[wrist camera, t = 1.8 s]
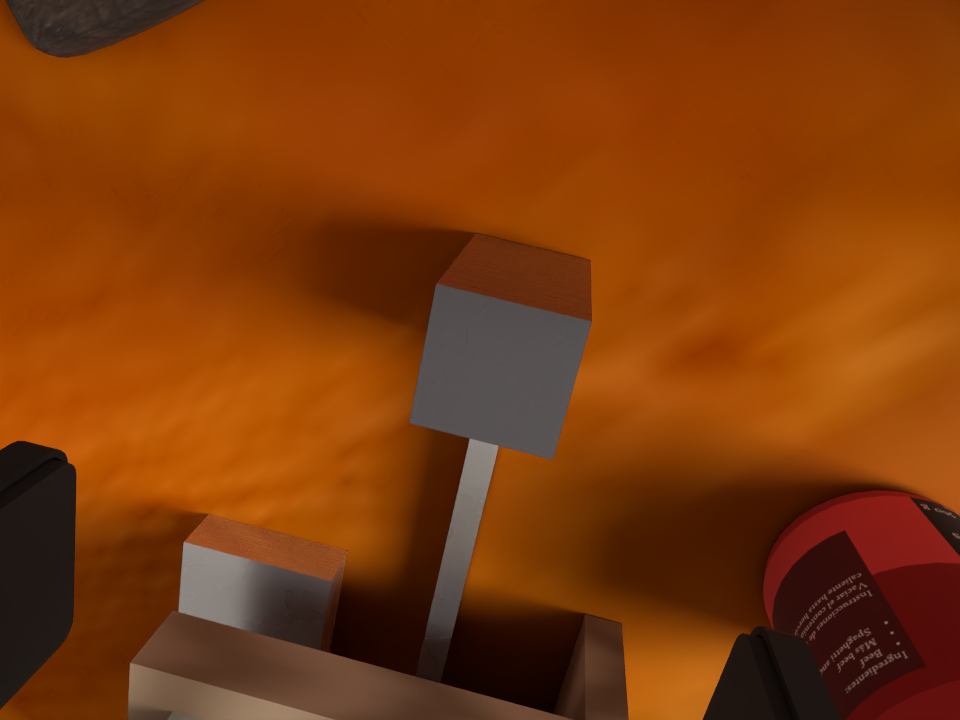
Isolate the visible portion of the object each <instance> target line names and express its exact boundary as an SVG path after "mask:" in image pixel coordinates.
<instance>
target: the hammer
mask: <svg viewBox="0 0 960 720" xmlns="http://www.w3.org/2000/svg"><path fill="white" fill-rule="evenodd" d="M591 322H592V309H591V260H587V259H583V258H579V257H574V256H570V255H566V254H562V253H558V252H553V251H549V250H545V249H541V248H537V247H532V246H528V245H524V244H520V243H516V242H511V241H507V240H503V239H499V238H495V237H490V236H486V235H482V234H478V233H475V235H474V236H473V237H472V238H471V240H470V241H469V242H468V244H467V245H466V246H465V247H464V249H463V250H462V251H461V253H460V254H459V255H458V256H457V258H456V259H455V260H454V261H453V263H452V264H451V265H450V267H449V268H448V269H447V270H446V272H445V273H444V274H443V276H442V277H441V278H440V279H439V281H438V282H437V283H436V287H435V292H434V297H433V303H432V308H431V313H430V318H429V323H428V328H427V334H426V339H425V344H424V349H423V354H422V360H421V365H420V370H419V375H418V380H417V386H416V391H415V396H414V401H413V406H412V412H411V417H410V422H409V423H410V424H414V425H418V426H422V427H426V428H430V429H434V430H438V431H442V432H446V433H450V434H454V435H458V436H462V437H466V438H470V440H469V445H468V449H467V454H466V458H465V462H464V467H463V471H462V475H461V480H460V484H459V488H458V493H457V497H456V501H455V506H454V510H453V515H452V519H451V523H450V528H449V532H448V536H447V541H446V545H445V549H444V554H443V558H442V562H441V567H440V571H439V576H438V580H437V584H436V589H435V593H434V597H433V602H432V606H431V610H430V615H429V619H428V623H427V628H426V632H425V637H424V641H423V645H422V650H421V654H420V658H419V663H418V667H417V671H416V676H415V677H419V678H423V679H426V680H430V681H434V682H437V683H440V682H441V678H442V674H443V670H444V666H445V662H446V658H447V653H448V649H449V645H450V641H451V637H452V633H453V629H454V625H455V621H456V617H457V613H458V609H459V605H460V601H461V597H462V593H463V589H464V585H465V581H466V577H467V573H468V569H469V564H470V560H471V556H472V552H473V548H474V544H475V540H476V536H477V532H478V528H479V524H480V520H481V516H482V512H483V508H484V504H485V500H486V496H487V492H488V488H489V484H490V480H491V475H492V471H493V467H494V463H495V459H496V455H497V451H498V447H499V446H501V447H505V448H509V449H513V450H517V451H521V452H525V453H529V454H533V455H537V456H540V457H544V458H548V459H552V460H553V458H554V454H555V451H556V447H557V443H558V440H559V436H560V433H561V429H562V426H563V422H564V418H565V415H566V411H567V408H568V404H569V401H570V397H571V394H572V390H573V386H574V383H575V379H576V376H577V372H578V369H579V365H580V362H581V358H582V354H583V351H584V347H585V344H586V340H587V337H588V333H589V330H590V326H591Z"/></svg>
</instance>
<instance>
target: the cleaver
mask: <svg viewBox="0 0 960 720" xmlns="http://www.w3.org/2000/svg"><path fill="white" fill-rule="evenodd" d="M202 1H204V0H6V2H7V4H8V6H9V8H10V10H11V12H12V13H13V15H14V17H15V19H16V21H17V22H18V24H19V26H20V28H21V30H22V32H23V33H24V35H25V36H26V37H27V39H28V40H29V41H30V43H31V44H32V46H34V47H35V48H36V49H38V50H40V51H42V52H44V53H47V54H49V55H52V56H56V57H65V58H67V57H73V56H78V55H83V54H87V53H90V52H92V51H95V50H98V49H101V48H103V47H106V46H109V45H112V44H114V43H117V42H119V41H121V40H124V39H126V38H128V37H131V36H133V35H135V34H138V33H140V32H142V31H144V30H146V29H149V28H151V27H153V26H155V25H157V24H159V23H161V22H163V21H165V20H167V19H169V18H171V17H173V16H175V15H177V14H179V13H181V12H183V11H185V10H187V9H189V8H190V7H192V6H194V5H196V4H198V3H200V2H202Z"/></svg>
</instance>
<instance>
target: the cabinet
mask: <svg viewBox="0 0 960 720" xmlns="http://www.w3.org/2000/svg"><path fill="white" fill-rule="evenodd" d="M127 720H629V718H628V705H627V691H626V677H625V663H624V649H623V636H622V624H620V623H616V622H613V621H609V620H605V619H601V618H598V617H594V616H590V615H586V614H585V616H584V619H583V622H582V626H581V629H580V632H579V635H578V638H577V641H576V644H575V647H574V650H573V653H572V656H571V659H570V662H569V665H568V669H567V672H566V675H565V678H564V681H563V684H562V687H561V690H560V693H559V696H558V699H557V702H556V705H555V708H554V712H553V714H551V713H547V712H544V711H540V710H536V709H533V708H529V707H525V706H522V705H518V704H514V703H511V702H507V701H503V700H500V699H496V698H492V697H489V696H485V695H481V694H478V693H474V692H470V691H467V690H463V689H459V688H456V687H452V686H448V685H445V684H441V683H437V682H434V681H430V680H426V679H423V678H419V677H415V676H412V675H408V674H404V673H401V672H397V671H393V670H390V669H386V668H382V667H379V666H375V665H371V664H368V663H364V662H360V661H357V660H353V659H349V658H346V657H342V656H338V655H335V654H331V653H327V652H324V651H320V650H316V649H313V648H309V647H305V646H302V645H298V644H294V643H291V642H287V641H283V640H280V639H276V638H272V637H269V636H265V635H261V634H258V633H254V632H250V631H247V630H243V629H239V628H236V627H232V626H228V625H225V624H221V623H217V622H214V621H210V620H206V619H203V618H199V617H195V616H192V615H188V614H184V613H181V612H177V611H173V610H172V612H171V613H170V614H169V615H168V617H167V618H166V619H165V620H164V621H163V623H162V624H161V625H160V626H159V628H158V629H157V630H156V631H155V633H154V634H153V635H152V636H151V638H150V639H149V640H148V641H147V642H146V644H145V645H144V646H143V647H142V649H141V650H140V651H139V652H138V654H137V655H136V656H135V657H134V658H133V660H132V661H131V662H130V675H129V696H128V716H127Z"/></svg>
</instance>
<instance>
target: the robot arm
mask: <svg viewBox="0 0 960 720" xmlns="http://www.w3.org/2000/svg"><path fill="white" fill-rule="evenodd" d="M75 515H76V469H75V467H74V466H73V465H72V464H70V463H68V460H67V457H66V455H65V453H64V452H62V451H61V450H58V449H54V448H50V447H46V446H42V445H38V444H34V443H30V442H26V441H17V442H14V443H12V444H10V445H8V446H6V447H5V448H3V449H1V450H0V709H1V708H2V707H3V706H4V705H5V704H6V703H7V702H8V701H9V700H10V699H11V698H12V697H13V695H14V694H15V693H16V692H17V691H18V690H19V689H20V688H21V687H22V686H23V685H24V684H25V683H26V682H27V681H28V680H29V679H30V678H31V676H32V675H33V674H34V673H35V672H36V671H37V670H38V669H39V668H40V667H41V666H42V665H43V664H44V663H45V662H46V661H47V660H48V659H49V657H50V656H51V655H52V654H53V653H54V652H55V651H56V650H57V649H58V648H59V647H60V646H61V644H62V643H63V642H64V640H65V639H66V637H67V635H68V633H69V631H70V629H71V626H72V622H73V609H74V562H75ZM703 720H841V718H840V716H839V713H838V711H837V709H836V707H835V704H834V702H833V700H832V698H831V695H830V693H829V691H828V689H827V686H826V684H825V682H824V680H823V677H822V675H821V673H820V671H819V669H818V666H817V664H816V662H815V660H814V657H813V655H812V653H811V651H810V648H809V646H808V644H807V642H806V641H805V639H804V638H802V637H800V636H798V635H794V634H790V633H786V632H782V631H778V630H774V629H770V628H766V627H762V626H759V627H756V628H755V629H754V630H753V631H752V633H751V635H748V634H744V633H743V634H740V635H739V636H738V637H737V639H736V641H735V643H734V646H733V648H732V650H731V653H730V655H729V658H728V660H727V662H726V665H725V667H724V670H723V672H722V674H721V677H720V679H719V682H718V684H717V686H716V689H715V691H714V694H713V696H712V698H711V701H710V703H709V706H708V708H707V710H706V713H705V715H704V718H703Z"/></svg>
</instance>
